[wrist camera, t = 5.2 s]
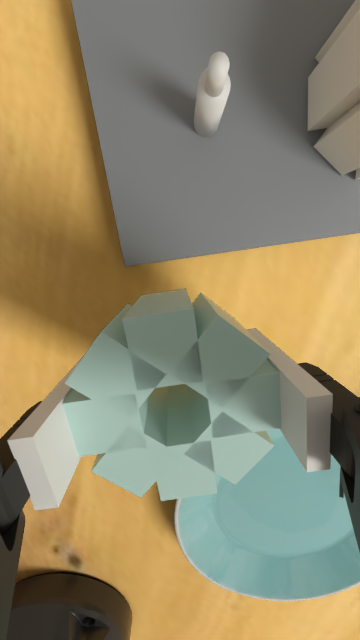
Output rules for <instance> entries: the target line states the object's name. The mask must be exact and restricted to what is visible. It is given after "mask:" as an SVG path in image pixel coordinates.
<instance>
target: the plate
mask: <svg viewBox="0 0 360 640" xmlns="http://www.w3.org/2000/svg"><path fill="white" fill-rule="evenodd" d="M266 431H267V433H268V435H269V437H270V438H271V440H272V442H273V444H274V447H273V448H272V449H271V450H270V451H269V452H268V453H267V454H266V455H265V456H264V457H263V458H262V459H261V460H260V461H259V462H258V463H257V464H256V465H255V466H254V467H253V468H252V469H251V470H250V471H249V472H248V473H247V474H246V475H245V476H244V477H243V478H242V479H241V480H240V481H239V482H238V483H237V484H236V485H235V484H233V483H231V482H230V481H228V480H226V479H225V478H223V477H221V476H220V475H218V474H216V473H215V478H216V486H217V493H216V494H209V495H202V496H195V497H187V498H180V499H176V504H175V512H174V524H175V531H176V536H177V539H178V543H179V545H180V548H181V550H182V552H183V554H184V555H185V557H186V558H187V560H188V561H189V562H190V564H191V565H192V566H193V567H194V568H195V569H196V570H197V571H198V572H199V573H200V574H201V575H202V576H204V577H205V578H207V579H208V580H209V581H211V582H213V583H214V584H216V585H218V586H220V587H222V588H224V589H227V590H229V591H232V592H235V593H238V594H241V595H244V596H248V597H253V598H258V599H264V600H272V601H299V600H309V599H315V598H321V597H325V596H329V595H332V594H336V593H339V592H342V591H344V590H347V589H350V588H352V587H354V586H357V585H359V584H360V552H359V548H358V545H357V541H356V537H355V533H354V529H353V525H352V522H351V518H350V514H349V510H348V506H347V502H346V499H345V495H344V498H341V497H339V485H340V464H339V463H338V462H337V461H336V459H335V458H334V457H333V456H332V454H331V469H328V470H321V471H314V472H306V470H305V469H304V467H303V465H302V464H301V462H300V461H299V459H298V457H297V456H296V454H295V453H294V451H293V449H292V448H291V446H290V445H289V443H288V441H287V440H286V438H285V437H284V435H283V433H282V432H281V430H280V429H273V430H266Z"/></svg>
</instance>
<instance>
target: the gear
mask: <svg viewBox="0 0 360 640" xmlns="http://www.w3.org/2000/svg"><path fill="white" fill-rule="evenodd" d="M315 59H316V60H317V61H318V62H319V64H318V65H317V66H316V68H315V69H314V70H313V72H312V73H311V74H310V76H309V77H308V131H312V130H318V129H324V128H327V129H326V131H325V132H324V133H323V135H322V136H321V137H320V138H319V140H318V141H317V142H316V144H315V145H314V146H313V147H314V148H315V149H316V150H317V151H318V152H319V153H320V154H321V155H322V156H323V157H324V158H325V159H326V160H327V161H328V162H329V163H330V164H331V165H332V166H333V167H334V168H335V169H336V170H337V171H338V172H339V173H340V174H341V175H342V176H343V175H345V174H347V173H349V172H351V171H354V170H356V177H355V180H358V179H360V0H355V2H354V3H353V4H352V6H351V7H350V9H349V10H348V11H347V13H346V14H345V16H344V17H343V18H342V20H341V21H340V23H339V24H338V25H337V27H336V28H335V30H334V31H333V33H332V34H331V35H330V37H329V38H328V40H327V41H326V42H325V44H324V45H323V47H322V48H321V49H320V51H319V52H318V54H317V55H316V56H315Z"/></svg>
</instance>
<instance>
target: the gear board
mask: <svg viewBox="0 0 360 640" xmlns="http://www.w3.org/2000/svg"><path fill="white" fill-rule="evenodd" d="M71 2H72V7H73V12H74V17H75V22H76V27H77V32H78V37H79V42H80V47H81V52H82V57H83V62H84V67H85V72H86V76H87V81H88V86H89V91H90V96H91V101H92V106H93V111H94V116H95V121H96V126H97V131H98V136H99V141H100V146H101V151H102V156H103V161H104V166H105V171H106V176H107V181H108V186H109V191H110V196H111V201H112V206H113V211H114V216H115V221H116V225H117V230H118V235H119V240H120V245H121V250H122V255H123V260H124V265H125V267H128V266H135V265H141V264H148V263H155V262H162V261H169V260H176V259H183V258H190V257H197V256H203V255H210V254H217V253H224V252H231V251H238V250H245V249H252V248H259V247H265V246H272V245H279V244H286V243H293V242H300V241H307V240H314V239H321V238H328V237H334V236H341V235H348V234H355V233H360V179H358V180H355V177H356V170H354V171H351V172H349V173H347V174H345V175H343V176H342V175H341V174H340V173H339V172H338V171H337V170H336V169H335V168H334V167H333V166H332V165H331V164H330V163H329V162H328V161H327V160H326V159H325V158H324V157H323V156H322V155H321V154H320V153H319V152H318V151H317V150H316V149H315V148H314V147H313V146H314V145H315V144H316V142H317V141H318V140H319V138H320V137H321V136H322V135H323V133H324V132H325V131H326V129H327V128H324V129H318V130H312V131H308V77H309V76H310V74H311V73H312V72H313V70H314V69H315V68H316V66H317V65H318V64H319V62H318V61H317V60H316V59H315V56H316V55H317V54H318V52H319V51H320V49H321V48H322V47H323V45H324V44H325V42H326V41H327V40H328V38H329V37H330V35H331V34H332V33H333V31H334V30H335V28H336V27H337V25H338V24H339V23H340V21H341V20H342V18H343V17H344V16H345V14H346V13H347V11H348V10H349V9H350V7H351V6H352V4H353V3H354V2H355V0H71Z"/></svg>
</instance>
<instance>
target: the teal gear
mask: <svg viewBox="0 0 360 640" xmlns="http://www.w3.org/2000/svg"><path fill="white" fill-rule="evenodd" d="M269 355H270V353H269V352H268V351H267V350H266V349H265V348H264V347H263V346H262V345H261V344H260V343H259V342H258V341H257V340H256V339H255V338H254V337H253V336H252V335H251V334H250V333H249V332H248V331H247V330H246V329H245V328H244V327H243V326H242V325H241V324H240V323H239V322H238V321H237V320H236V319H235V318H234V317H232V316H231V315H230V314H228V313H227V312H226V311H224V310H223V309H222V308H221V307H219V306H218V305H217V304H215V303H214V302H213V301H211V300H210V299H209V298H207V297H206V296H205V295H203V294H202V293H200V294H199V295H198V297H197V298H196V299H195V301H194V302H193V303H191V301H190V298H189V296H188V293H187V291H186V289H179V290H173V291H166V292H159V293H152V294H145V295H141V296H140V297H139V298H138V300H137V301H136V302H135V303H134V305H133V306H132V305H130V304H129V303H127V305H126V306H125V307H124V308H123V309H122V310H121V311H120V312H119V313H118V314H117V315H116V316H115V317H114V318H113V319H112V320H111V322H110V323H109V324H108V325H107V326H106V327H105V328H104V329H103V330H102V331H101V332H100V334H99V335H98V337H97V338H96V339H95V341H94V342H93V344H92V345H91V347H90V348H89V349H88V351H87V352H86V354H85V355H84V357H83V358H82V359H81V361H80V362H79V364H78V365H77V367H76V368H75V369H74V371H73V372H72V374H71V375H70V377H69V378H68V379H67V381H66V382H65V384H66V385H68V386H70V387H71V388H73V390H72V391H71V393H70V394H69V395H68V397H67V398H66V399H65V401H64V402H63V403H62V404H63V408H64V411H65V414H66V417H67V420H68V424H69V427H70V430H71V433H72V436H73V440H74V443H75V446H76V449H77V452H78V456H79V457H81V456H88V455H95V454H98V455H97V457H96V460H95V463H94V465H93V468H92V471H91V472H93V473H95V474H97V475H99V476H101V477H102V478H104V479H106V480H108V481H110V482H112V483H114V484H116V485H118V486H119V487H121V488H123V489H125V490H127V491H129V492H131V493H133V494H135V495H136V496H138V497H140V498H141V497H142V496H143V495H144V494H145V493H146V492H147V491H148V490H149V489H150V487H151V486H152V485H153V484H154V483H155V482H156V481H157V486H158V490H159V495H160V500H161V501H166V500H173V499H180V498H187V497H195V496H202V495H209V494H216V493H217V486H216V478H215V473H216V474H218V475H220V476H221V477H223V478H225V479H226V480H228V481H230V482H231V483H233V484H235V485H236V484H237V483H238V482H239V481H240V480H241V479H242V478H243V477H244V476H245V475H246V474H247V473H248V472H249V471H250V470H251V469H252V468H253V467H254V466H255V465H256V464H257V463H258V462H259V461H260V460H261V459H262V458H263V457H264V456H265V455H266V454H267V453H268V452H269V451H270V450H271V449H272V448H273V447H274V444H273V442H272V440H271V438H270V437H269V435H268V433H267V431H266V430H273V429H280V428H281V402H280V373H279V372H278V371H277V369H276V368H275V367H274V366H273V365H272V364H271V363H270V362H269V361H268V360H267V358H268V356H269Z"/></svg>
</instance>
